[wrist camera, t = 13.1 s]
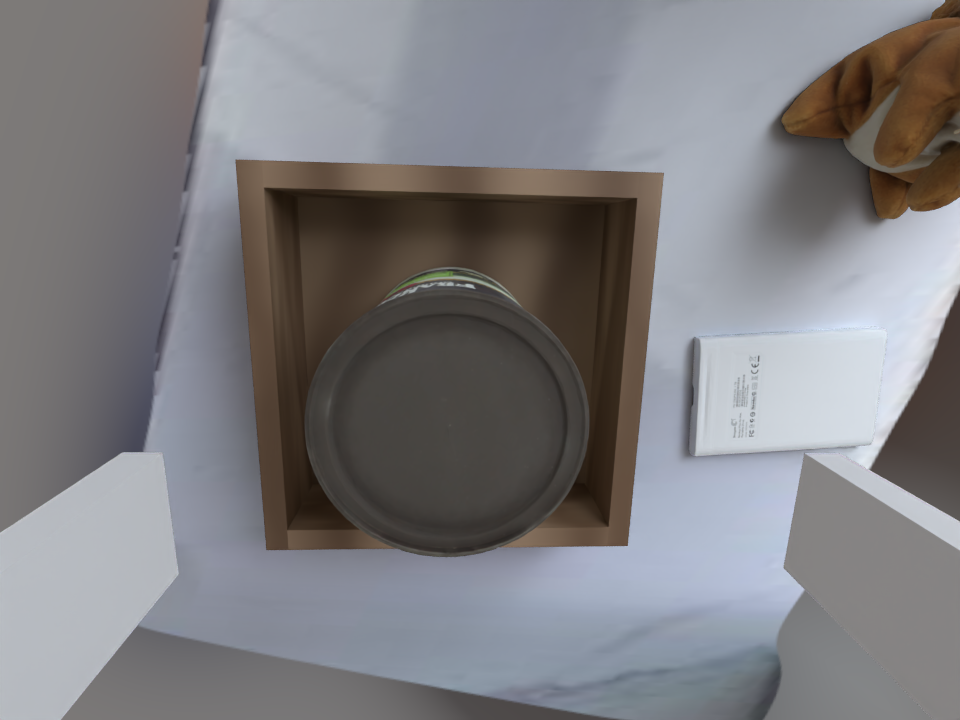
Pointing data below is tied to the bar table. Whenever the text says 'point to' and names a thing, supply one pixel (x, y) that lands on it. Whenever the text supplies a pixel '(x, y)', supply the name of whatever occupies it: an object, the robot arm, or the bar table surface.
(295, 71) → the bar table surface
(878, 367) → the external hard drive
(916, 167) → the stuffed squirrel
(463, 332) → the coffee can
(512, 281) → the walnut box
